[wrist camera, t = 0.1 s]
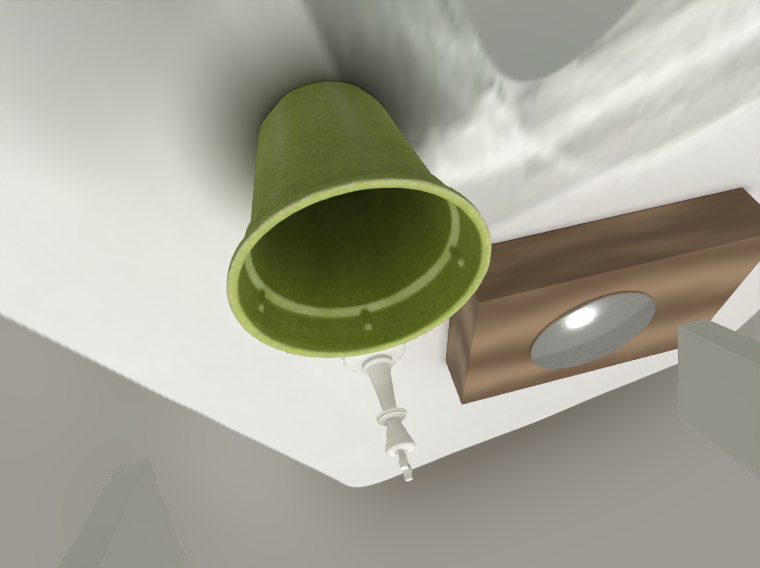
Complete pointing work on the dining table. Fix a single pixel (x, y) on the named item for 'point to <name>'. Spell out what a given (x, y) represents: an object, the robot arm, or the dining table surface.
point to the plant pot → (349, 232)
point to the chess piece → (386, 400)
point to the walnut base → (600, 293)
